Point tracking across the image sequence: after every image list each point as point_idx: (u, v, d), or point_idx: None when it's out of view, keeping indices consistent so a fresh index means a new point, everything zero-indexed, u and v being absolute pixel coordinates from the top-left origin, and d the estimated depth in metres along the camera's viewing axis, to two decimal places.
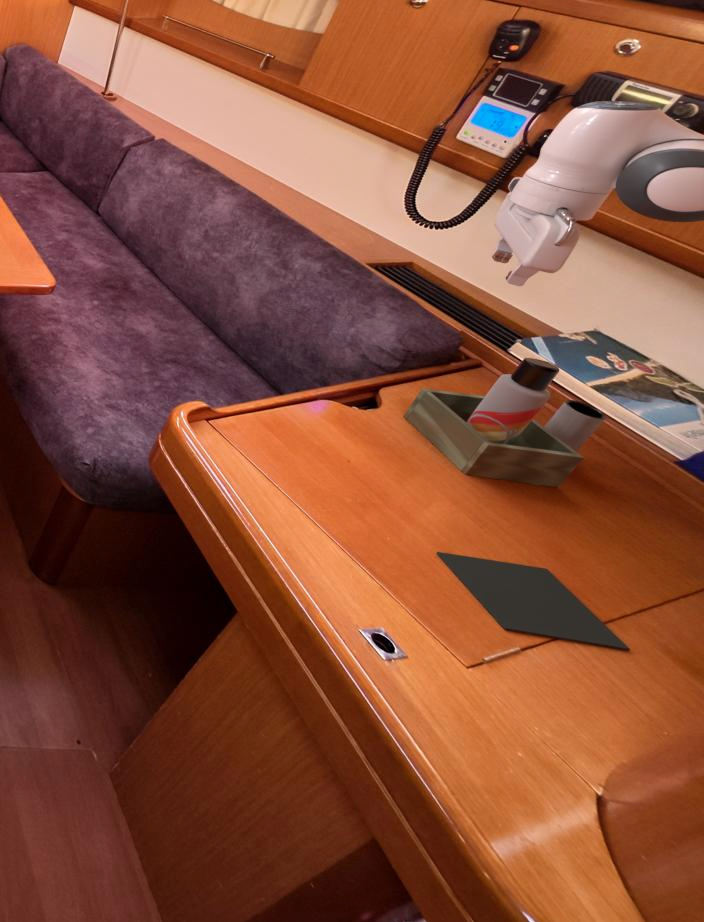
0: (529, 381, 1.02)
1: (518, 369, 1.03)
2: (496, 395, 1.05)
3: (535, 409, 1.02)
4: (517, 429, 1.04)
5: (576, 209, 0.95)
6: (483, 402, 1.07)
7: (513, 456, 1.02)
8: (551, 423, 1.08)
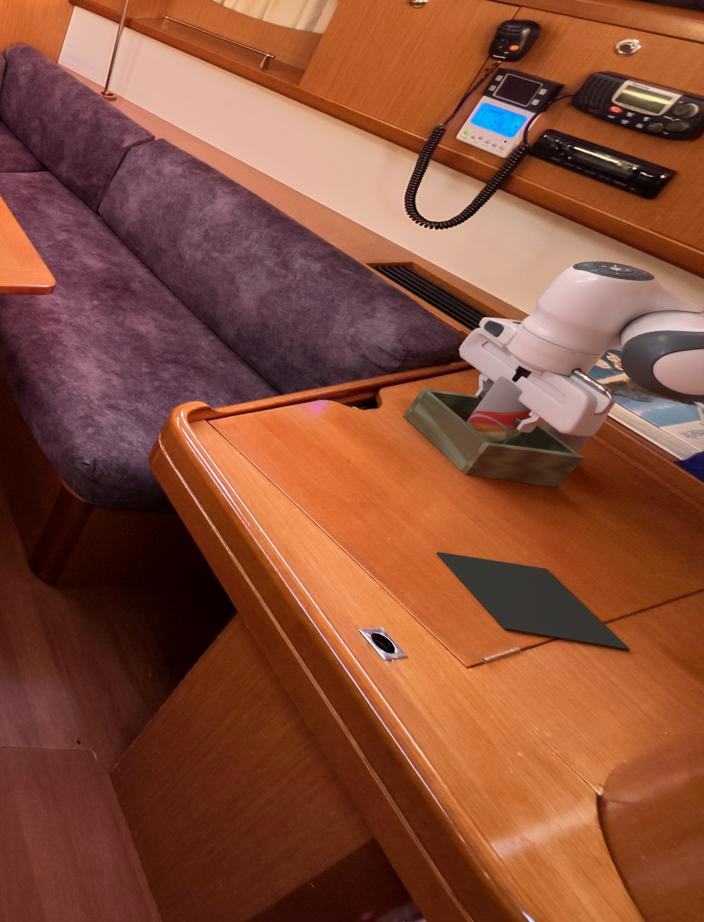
0: None
1: (517, 369, 1.03)
2: (495, 395, 1.05)
3: None
4: (517, 429, 1.04)
5: (587, 368, 0.96)
6: (482, 402, 1.07)
7: (513, 456, 1.02)
8: None
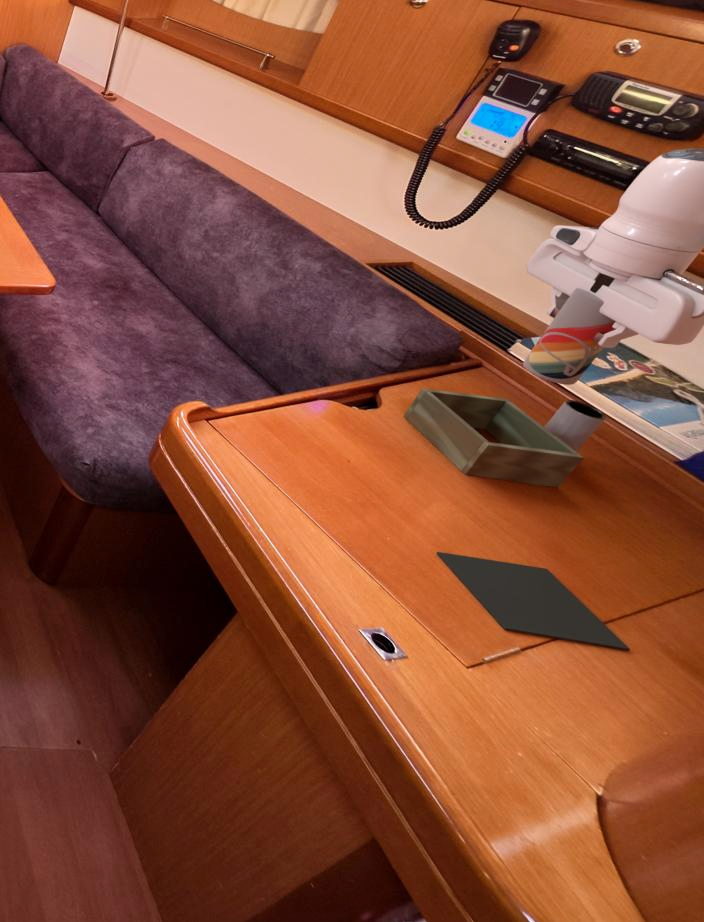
0: None
1: (597, 278, 0.93)
2: (572, 309, 0.95)
3: None
4: (597, 346, 0.94)
5: (680, 269, 0.86)
6: (556, 319, 0.97)
7: (513, 456, 1.02)
8: (551, 423, 1.08)
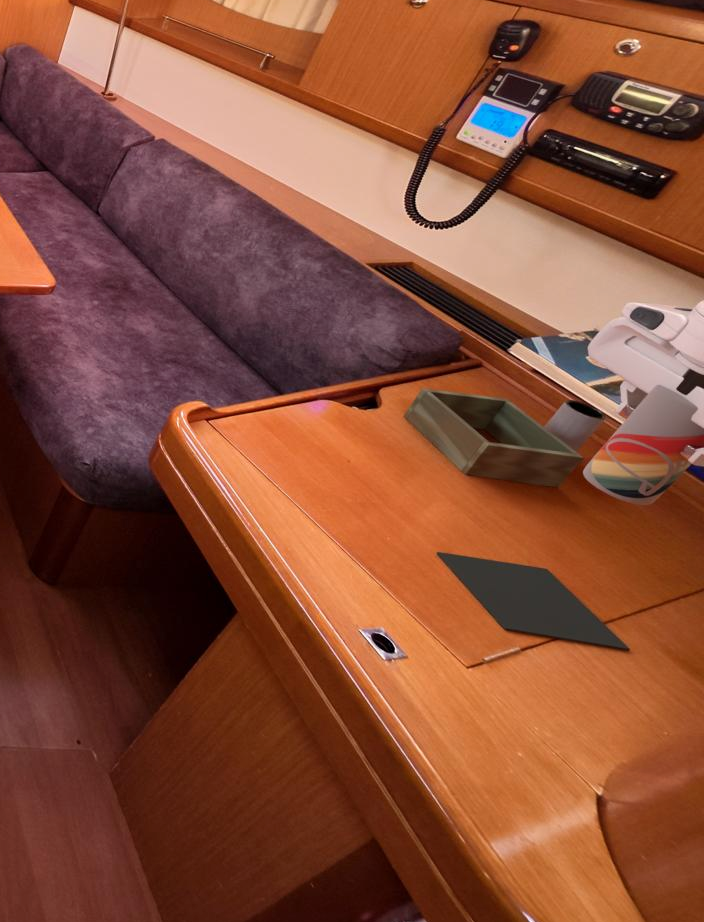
0: None
1: (686, 375, 0.72)
2: (652, 412, 0.74)
3: None
4: (685, 461, 0.73)
5: None
6: (630, 422, 0.76)
7: (513, 456, 1.02)
8: (551, 423, 1.08)
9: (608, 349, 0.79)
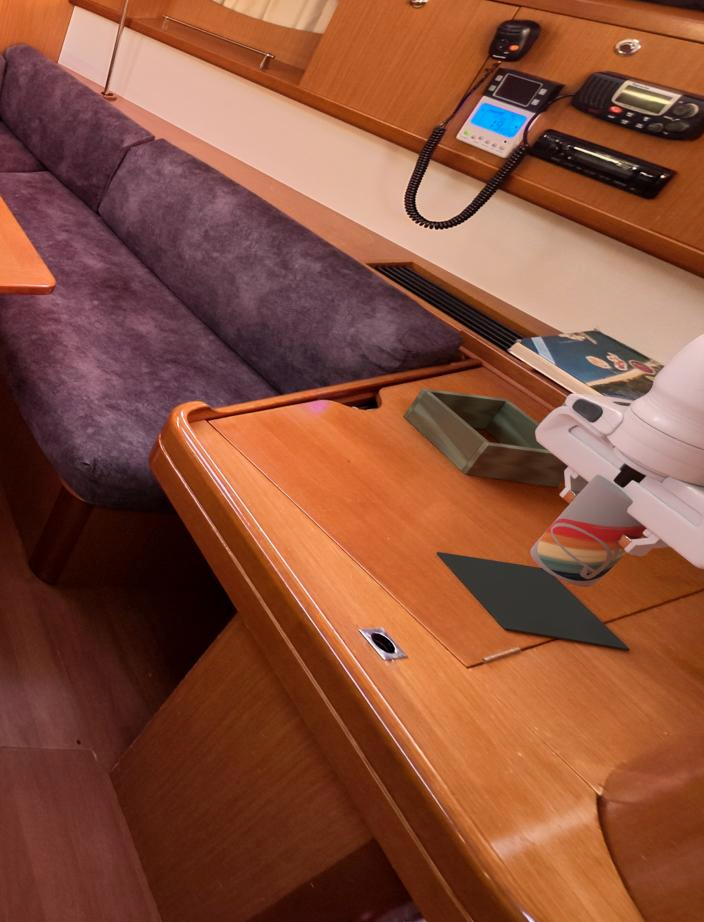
0: None
1: (623, 468, 0.76)
2: (591, 501, 0.78)
3: None
4: (623, 549, 0.77)
5: None
6: (572, 508, 0.80)
7: (513, 456, 1.02)
8: None
9: (553, 435, 0.83)
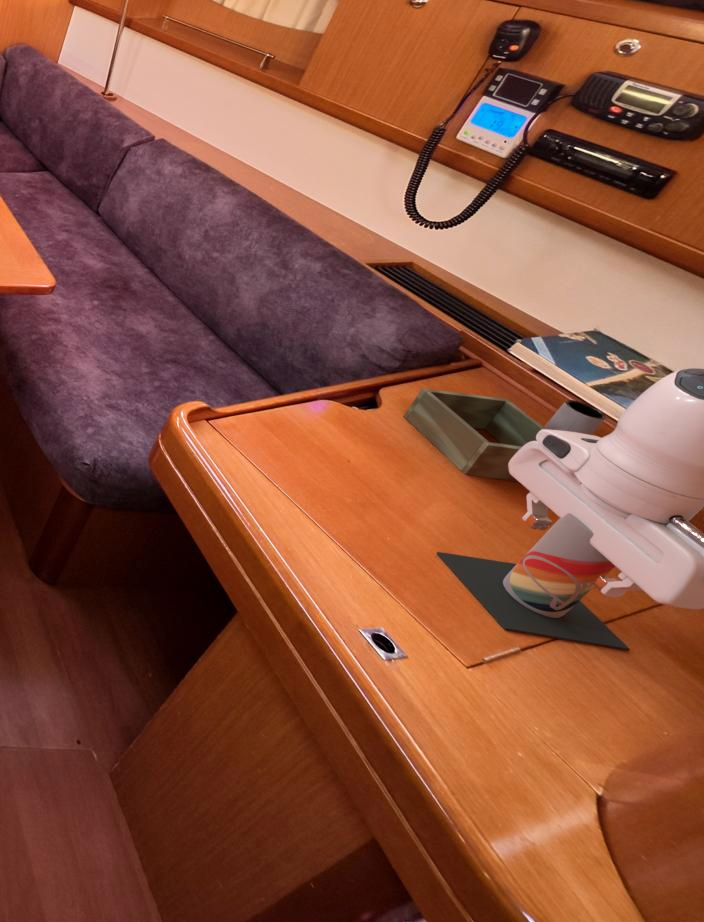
0: None
1: None
2: (562, 536, 0.81)
3: None
4: (591, 583, 0.80)
5: (690, 515, 0.72)
6: (544, 541, 0.83)
7: None
8: (551, 423, 1.08)
9: (525, 468, 0.86)
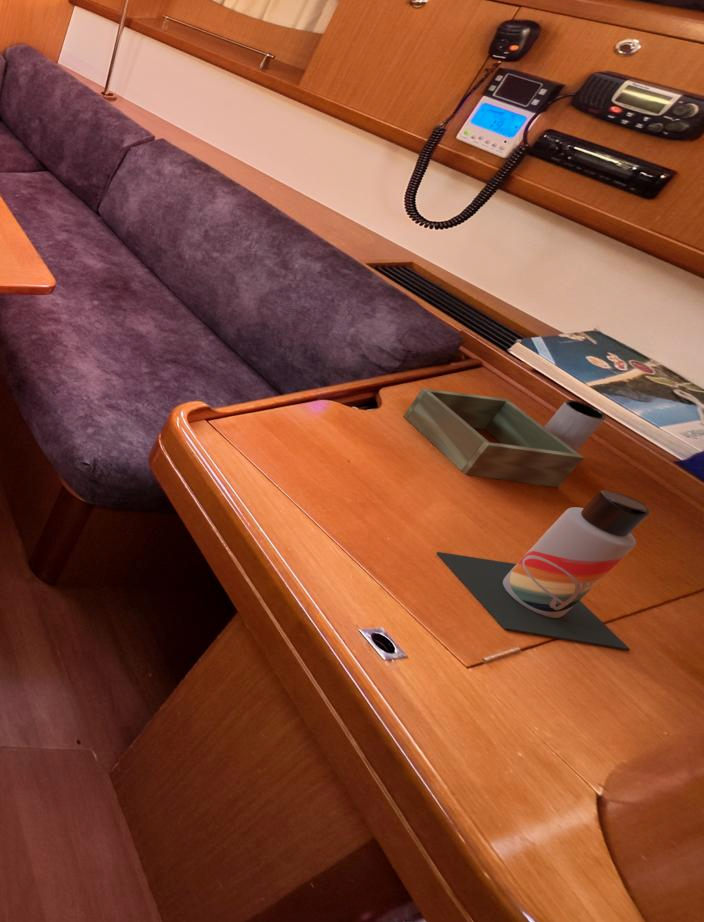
0: (608, 523, 0.77)
1: (592, 505, 0.79)
2: (561, 536, 0.81)
3: (615, 560, 0.78)
4: (590, 582, 0.80)
5: None
6: (543, 541, 0.83)
7: (513, 456, 1.02)
8: (551, 423, 1.08)
9: None
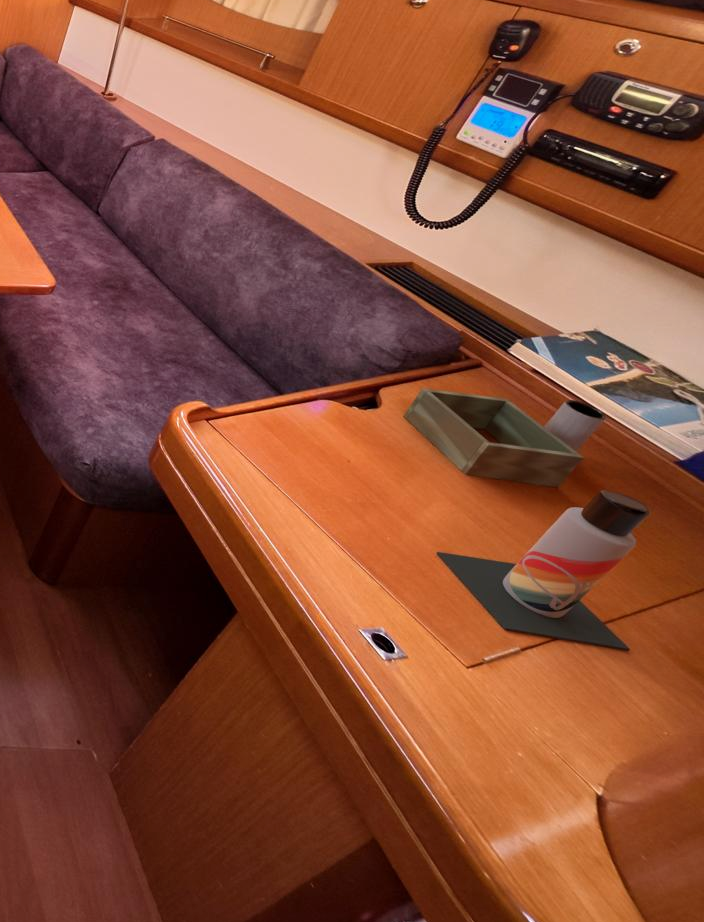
0: (608, 523, 0.77)
1: (592, 505, 0.79)
2: (561, 536, 0.81)
3: (615, 560, 0.78)
4: (590, 582, 0.80)
5: None
6: (543, 541, 0.83)
7: (513, 456, 1.02)
8: (551, 423, 1.08)
9: None
